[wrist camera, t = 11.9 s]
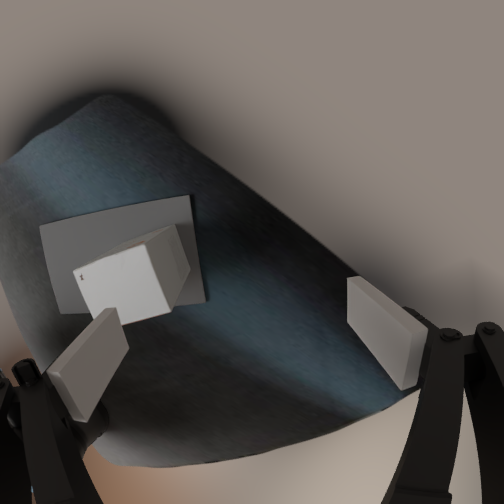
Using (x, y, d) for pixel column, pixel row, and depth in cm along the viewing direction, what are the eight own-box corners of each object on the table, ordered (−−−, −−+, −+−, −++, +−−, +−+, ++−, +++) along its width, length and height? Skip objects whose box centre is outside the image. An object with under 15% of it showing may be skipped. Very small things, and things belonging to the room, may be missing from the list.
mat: (62, 312, 36) (60, 314, 35) (41, 225, 33) (39, 225, 32) (206, 301, 37) (205, 302, 36) (189, 195, 34) (188, 195, 33)
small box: (137, 287, 35) (98, 332, 22) (120, 243, 34) (69, 270, 21) (192, 270, 35) (172, 313, 22) (176, 222, 34) (144, 241, 21)
